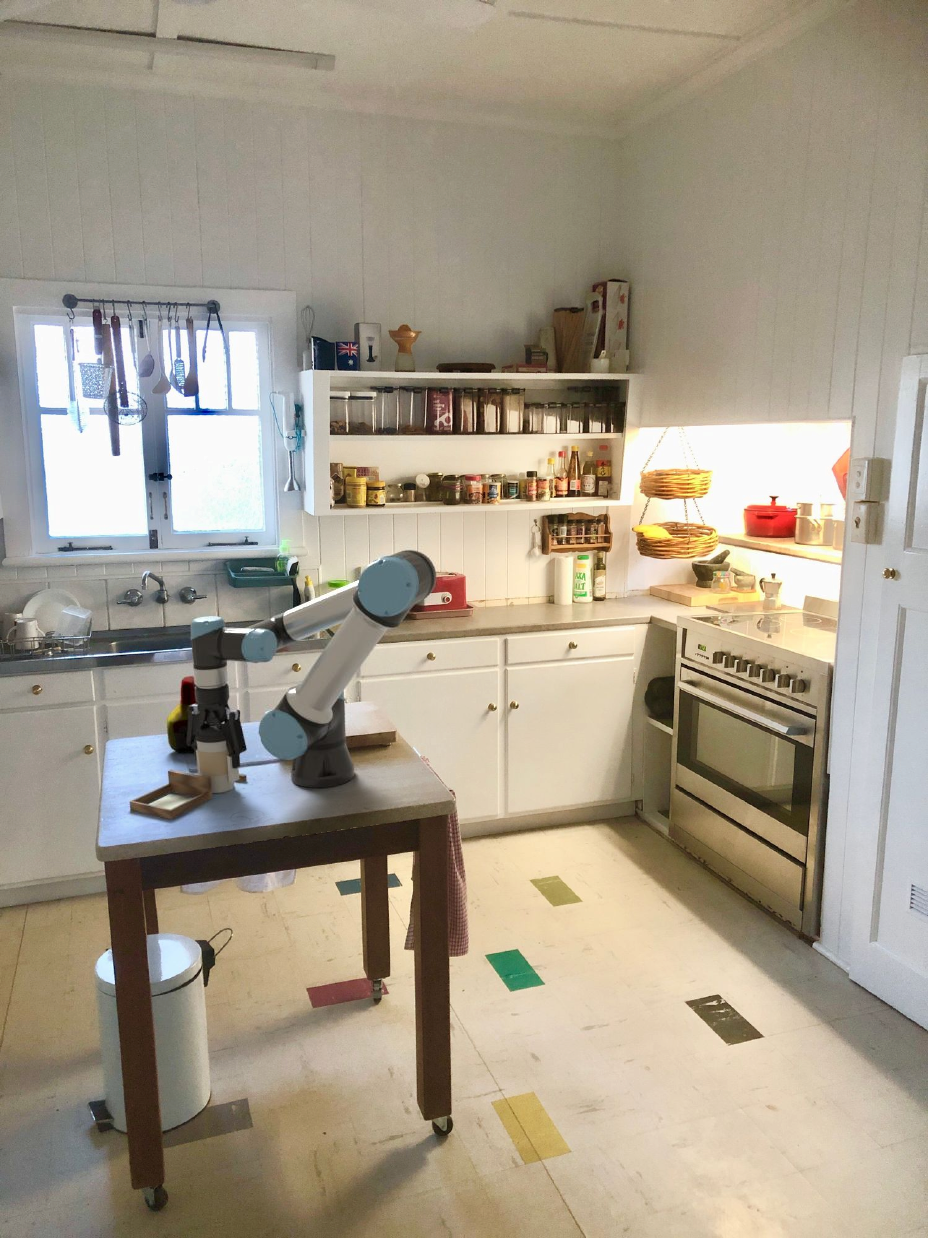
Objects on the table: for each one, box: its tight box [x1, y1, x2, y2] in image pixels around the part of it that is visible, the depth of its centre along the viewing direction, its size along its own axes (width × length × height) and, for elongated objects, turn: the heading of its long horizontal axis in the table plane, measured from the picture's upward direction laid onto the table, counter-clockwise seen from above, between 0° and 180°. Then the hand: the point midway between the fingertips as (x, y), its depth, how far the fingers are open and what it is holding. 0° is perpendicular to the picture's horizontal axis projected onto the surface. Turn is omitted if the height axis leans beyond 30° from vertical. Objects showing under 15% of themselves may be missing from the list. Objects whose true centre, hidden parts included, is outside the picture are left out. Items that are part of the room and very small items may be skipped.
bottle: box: [166, 675, 212, 754], centre depth 246 cm, size 12×6×20 cm, turn 89°
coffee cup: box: [195, 723, 235, 794], centre depth 221 cm, size 9×9×15 cm
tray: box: [129, 769, 213, 820], centre depth 213 cm, size 12×13×5 cm
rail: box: [235, 773, 247, 783], centre depth 229 cm, size 12×1×2 cm, turn 63°
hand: (218, 777), depth 222 cm, fingers closed on coffee cup, 9 cm apart
